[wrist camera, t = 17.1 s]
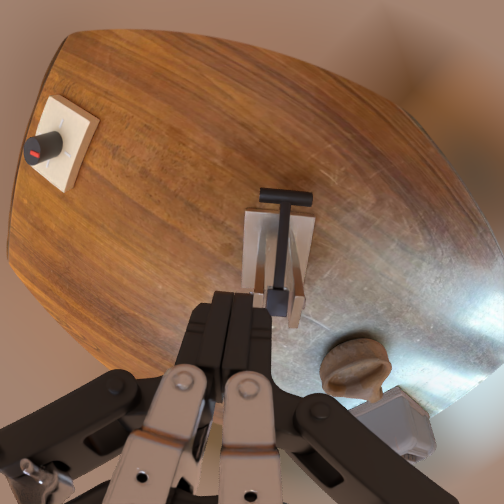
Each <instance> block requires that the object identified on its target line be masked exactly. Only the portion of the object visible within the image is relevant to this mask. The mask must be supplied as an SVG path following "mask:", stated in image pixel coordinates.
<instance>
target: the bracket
mask: <svg viewBox="0 0 504 504" xmlns="http://www.w3.org/2000/svg"><path fill="white" fill-rule="evenodd" d="M278 221H279V211H278V210H266V209H254V208H246V210H245V223H244V242H243V261H242V281H241V288H249V289H254V292H249V294H254V298H253V307H258V308H263V299H264V290H267V286H273V279H274V268H275V257H276V246H277V234H278ZM314 224H315V215H314V214H308V213H299V212H290V224H289V236H288V248H287V259H286V270H285V281H284V287H287V288H288V290H289V300H288V326H289V328H298V324H299V320H300V316H301V312H302V309H304V308H305V304H306V298H305V295H304V288H303V283H304V278H305V273H306V268H307V263H308V258H309V252H310V247H311V241H312V236H313V230H314Z"/></svg>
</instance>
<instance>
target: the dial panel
mask: <svg viewBox="0 0 504 504" xmlns="http://www.w3.org/2000/svg"><path fill="white" fill-rule="evenodd" d="M99 121H100V120H99V119H98V118H96V117H94V116H93V115H91V114H90V113H88V112H87V111H85V110H83V109H82V108H80V107H78V106H77V105H75V104H74V103H72V102H70V101H69V100H67V99H66V98H64V97H62V96H61V95H52V96H49V98H48V100H47V103H46V105H45V108H44V111H43V114H42V116H41V119H40V122H39V125H38V128H37V131H36V135H35V136H37V135H41V134H44V133H48V132H52V131H56V132H58V133H59V134H60V135H61V137H62V140H63V147H62V151H61V153H60V154H59V155H58V156H57V157H54V158H52V159H49V160H46V161H44V162H41V163H39V164H37V165H34V166H31V165H30V166H31V167H32V168H34V169H35V170H36V171H37V172H39V173H40V174H41V175H42V176H43V177H45V178H46V179H47V180H48V181H50V182H51V183H52V184H53V185H55V186H56V187H57V188H58V189H60V190H61V191H62V192H63V193H64V192H66V191H68V190H70V189H72V188H73V186H74V183H75V180H76V177H77V174H78V172H79V169H80V166H81V164H82V161H83V158H84V156H85V153H86V151H87V148H88V146H89V144H90V141H91V139H92V137H93V134H94V132H95V130H96V128H97V126H98V123H99Z"/></svg>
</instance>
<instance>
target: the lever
mask: <svg viewBox="0 0 504 504" xmlns="http://www.w3.org/2000/svg"><path fill="white" fill-rule="evenodd" d="M312 201H313V194H312V193H311V192H303V191H293V190H283V189H272V188H260V197H259V202H264V203H275V204H280V209H279V221H278V234H277V246H276V257H275V268H274V279H273V286H267V296H266V306H265V308H267V310H268V312H269V314H270V316H280V317H287V310H288V300H289V290H288V288H287V287H284V281H285V270H286V259H287V248H288V236H289V224H290V211H291V205H296V206H306V207H311V206H312Z"/></svg>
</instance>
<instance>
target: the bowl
mask: <svg viewBox="0 0 504 504" xmlns="http://www.w3.org/2000/svg"><path fill="white" fill-rule="evenodd" d="M391 370H392V366H391V363H390V362H389V359H388V356H387V352H386V349H385V348H384V346H383V345H382V344H380V343H379V342H377V341H375V340H373V339H368V338H361V339H354V340H350V341H347V342H344V343H342V344H340V345H338V346H336V347H335V348H333V349H332V350H331V351H330V352H329V353H328V354H327V355H326V356H325V357H324V360H323V361H322V364H321V367H320V372H319V373H320V377H321V380H322V388H323V390H324V391H325V393H327V394H328V395H332V396H333V397H346V398H356V399H364V400H367V401H369V402H370V403H375V402H377V401H379V400H381V399H382V397H383V392H382V387H381V385H382V383H383V382H384V380H385V379H386V378H387V377H388V375H389V374H390V372H391Z"/></svg>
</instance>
